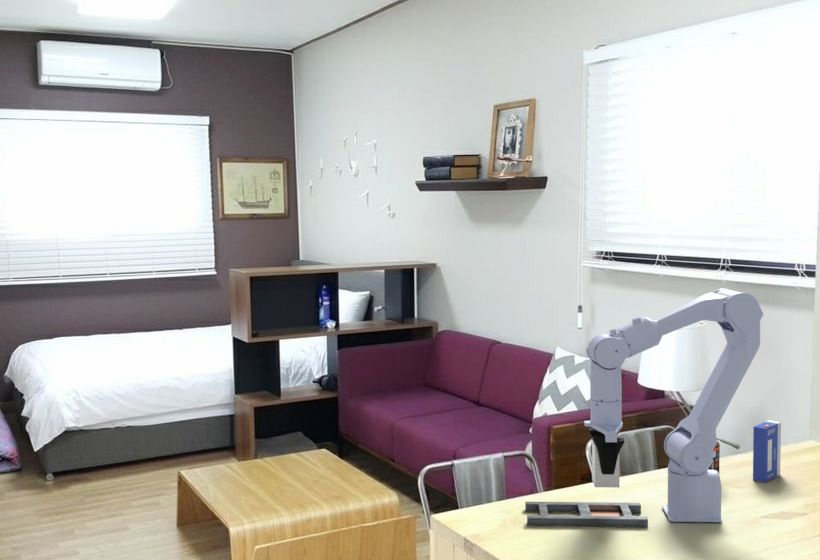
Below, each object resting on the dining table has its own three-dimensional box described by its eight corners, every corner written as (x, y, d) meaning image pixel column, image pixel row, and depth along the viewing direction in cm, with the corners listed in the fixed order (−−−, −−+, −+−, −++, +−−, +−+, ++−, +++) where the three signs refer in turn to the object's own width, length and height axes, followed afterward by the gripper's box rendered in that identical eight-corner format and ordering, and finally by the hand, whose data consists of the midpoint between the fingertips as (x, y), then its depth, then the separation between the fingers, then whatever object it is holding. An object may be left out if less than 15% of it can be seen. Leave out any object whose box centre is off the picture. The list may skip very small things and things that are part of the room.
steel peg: (615, 479, 167) (615, 438, 166) (619, 487, 162) (619, 445, 162) (592, 479, 167) (592, 438, 167) (595, 487, 163) (594, 445, 162)
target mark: (618, 513, 168) (618, 511, 168) (622, 523, 163) (622, 521, 163) (589, 512, 168) (589, 511, 168) (593, 523, 163) (593, 521, 163)
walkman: (765, 483, 184) (766, 427, 183) (752, 480, 186) (753, 425, 185) (781, 474, 190) (782, 420, 189) (768, 471, 192) (769, 418, 191)
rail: (639, 510, 169) (639, 502, 169) (647, 527, 160) (647, 519, 160) (525, 508, 171) (525, 501, 171) (527, 525, 162) (527, 517, 162)
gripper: (580, 390, 171) (580, 458, 172) (588, 407, 157) (588, 481, 158) (616, 390, 170) (616, 458, 172) (628, 407, 156) (628, 482, 157)
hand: (606, 469), depth 165 cm, fingers closed on steel peg, 4 cm apart
